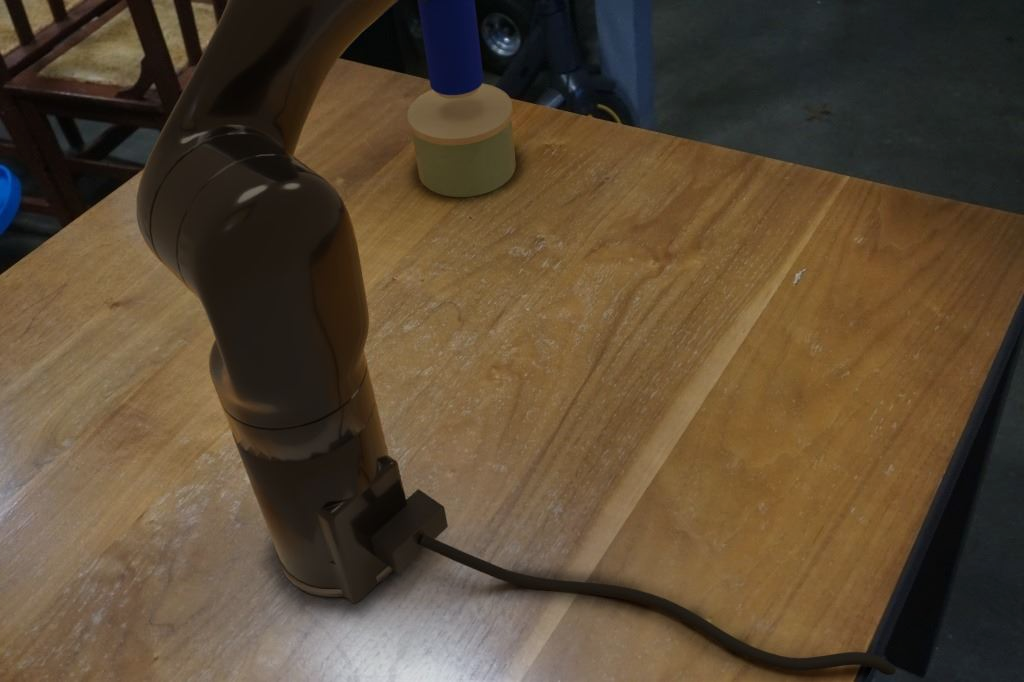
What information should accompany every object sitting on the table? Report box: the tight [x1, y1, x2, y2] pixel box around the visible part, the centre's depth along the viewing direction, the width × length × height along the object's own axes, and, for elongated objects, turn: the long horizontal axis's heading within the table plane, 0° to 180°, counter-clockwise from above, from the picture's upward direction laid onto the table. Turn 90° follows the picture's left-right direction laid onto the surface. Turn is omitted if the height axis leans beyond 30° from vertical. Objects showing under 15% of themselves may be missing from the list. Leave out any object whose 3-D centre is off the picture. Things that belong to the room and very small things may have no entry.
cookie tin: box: [406, 83, 517, 198], centre depth 111 cm, size 10×10×7 cm
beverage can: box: [417, 0, 484, 99], centre depth 101 cm, size 5×5×15 cm
